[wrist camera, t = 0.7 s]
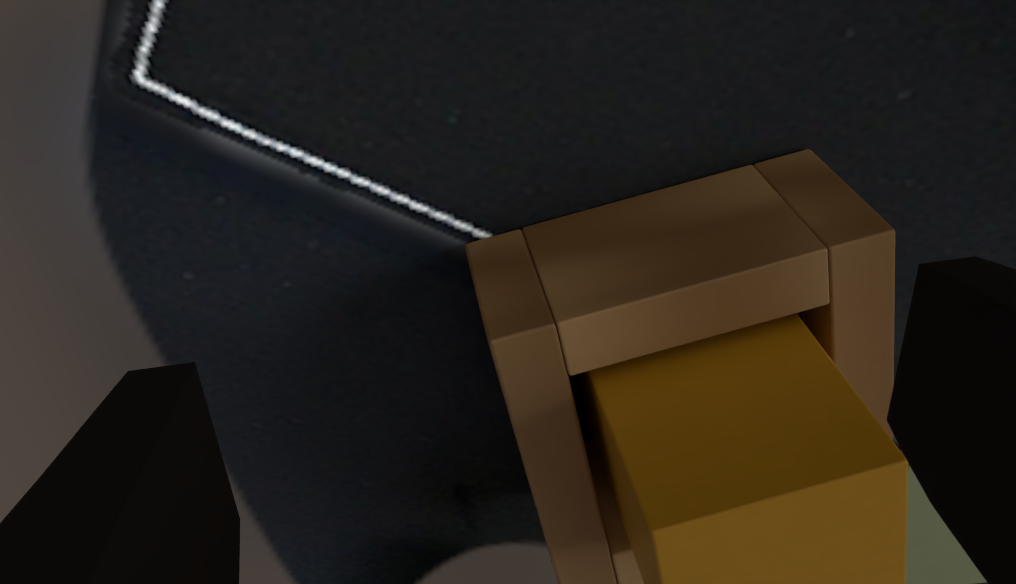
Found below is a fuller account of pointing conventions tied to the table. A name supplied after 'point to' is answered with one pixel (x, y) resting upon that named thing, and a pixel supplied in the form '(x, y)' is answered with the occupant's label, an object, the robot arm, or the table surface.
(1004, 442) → the robot arm
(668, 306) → the stand
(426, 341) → the table surface
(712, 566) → the block
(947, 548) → the mat
